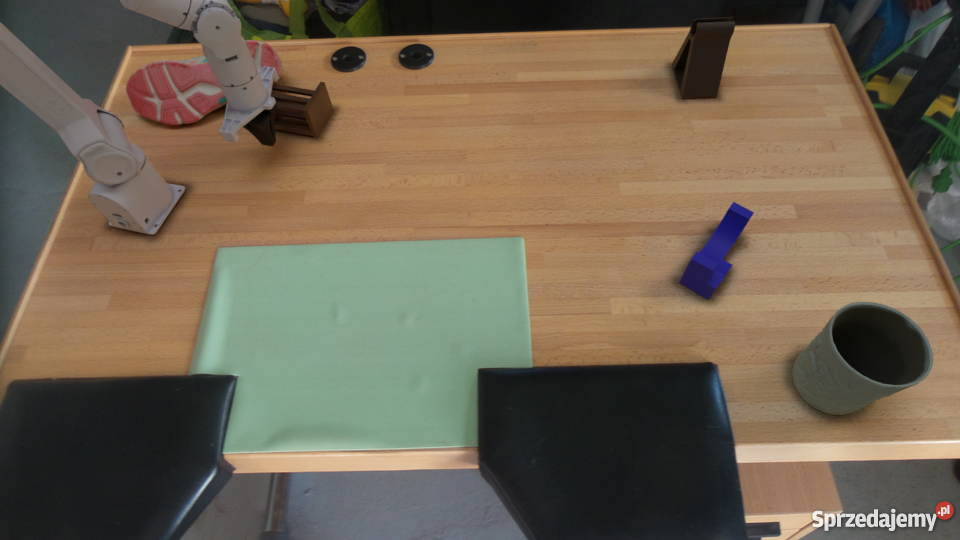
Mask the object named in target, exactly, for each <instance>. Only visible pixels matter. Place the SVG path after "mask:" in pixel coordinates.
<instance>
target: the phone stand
mask: <svg viewBox="0 0 960 540" xmlns="http://www.w3.org/2000/svg"><path fill="white" fill-rule="evenodd" d="M735 28H736V21H735V20H734V17H733V16H730V17H729V16H727V17H706V18H705V17H704V18H694V19H693V20H692V21H691V25H690V29H689V31H688V33H687V35H686V37H685V39H684V40H683V43H682V44H681V46H680V48H679V49H678V51H677V53H676V55H675V57H674V58H673V60H672V62H671V66H670V67H671V69H672V72H673V76H674V79H675V82H676V85H677V88H678V92H679V95H680V98H681V99H704V98H717V97H718V94H719V90H720V85H721V81H722V76H723V73H724V72H723V71H724V69H725V64H726V61H727V55H728V51H729V47H730V42H731V40H732V37H733V34H734V32H735Z"/></svg>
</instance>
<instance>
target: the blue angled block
mask: <svg viewBox="0 0 960 540" xmlns="http://www.w3.org/2000/svg"><path fill="white" fill-rule="evenodd" d="M754 213H755V212H754V211H752V210H750V209H748V208H746V207H745V206H742V205H741V204H739V203H737V202H735V201H733V202H732V203H731V204H730V206H729V207H728V209H727V211H726V212H725V214H724V216H723V217H722V219H721V220H720V222H719V224H718V225H717V227H716V228H715V230H714V231H713V233H712V235H711V236H710V237H709V239H708V241H707V242H706V243H705V244H704V246H703V248H702V249H701V250H700V251H698V250H697V251H696V252H695V253H694V255H693V256H692V257H691V258H690V261H689V263H688V265H687V266H686V268H685V270H684V272H683V274H682V275H681V278H680V279H679V281H678V283H679V284H681V285H682V286H684V287H685V288H687V289H689V290H691V291H692V292H694V293H696V294H698V295H699V296H700V297H702V298H705V299H706V300H708V301H710V299H711V298H712V296H713V295H714V293H715V292H716V290H717V289H718V287H719V286H720V285H721V283H722V282H723V280H724V279H725V278H726V276H727V275H728V273H729V271H730V270H731V268H733V264H732V263H731V262H728V261H726V260H725V258H726V256H727V255H728V254H729V252H730V251H731V249H732V248H733V246H734V245H735V243H736V242H737V240H739V238H740V236H741V234H742V233H743V231H744V230H745V228H746V227H747V225H748V223H749V221H750V220H751V218H752V217H753V215H754Z"/></svg>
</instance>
